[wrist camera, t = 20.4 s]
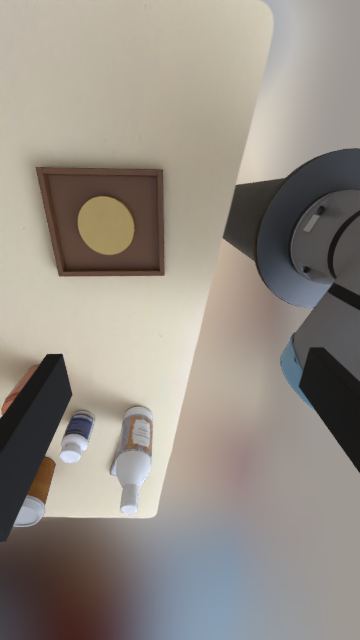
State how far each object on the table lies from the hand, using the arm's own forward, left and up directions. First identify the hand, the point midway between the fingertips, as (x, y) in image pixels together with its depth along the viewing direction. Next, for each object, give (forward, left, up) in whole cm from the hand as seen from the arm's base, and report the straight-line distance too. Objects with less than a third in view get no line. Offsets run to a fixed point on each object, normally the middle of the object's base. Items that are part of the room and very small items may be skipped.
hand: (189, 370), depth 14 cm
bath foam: (+8, +39, -33) cm, 52 cm away
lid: (+10, -4, -31) cm, 33 cm away
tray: (+10, -4, -33) cm, 34 cm away
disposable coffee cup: (+34, +55, -33) cm, 73 cm away
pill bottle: (+21, +39, -33) cm, 55 cm away
